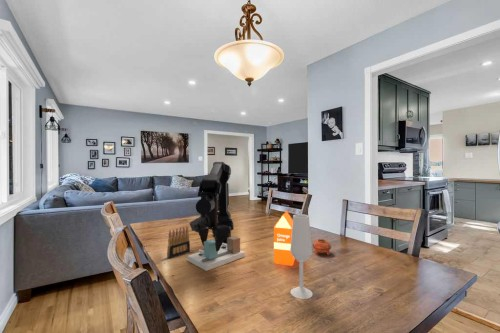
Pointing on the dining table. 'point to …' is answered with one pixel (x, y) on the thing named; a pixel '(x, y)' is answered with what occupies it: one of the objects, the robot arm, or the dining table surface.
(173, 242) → the ammunition clip
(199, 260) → the white base plate
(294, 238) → the champagne flute
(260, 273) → the dining table surface
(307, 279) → the dining table surface
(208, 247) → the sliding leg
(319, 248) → the pot
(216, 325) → the dining table surface
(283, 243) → the orange juice
